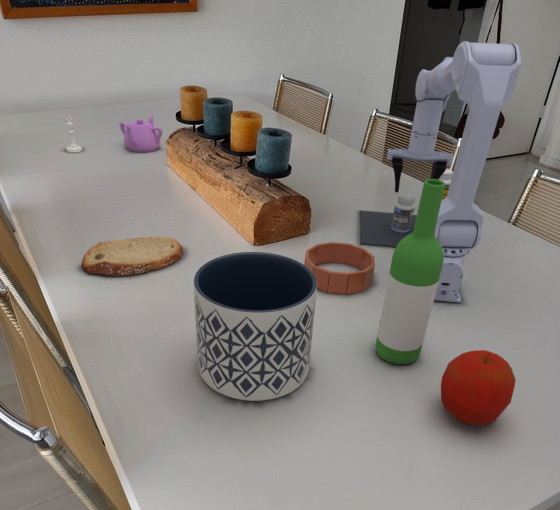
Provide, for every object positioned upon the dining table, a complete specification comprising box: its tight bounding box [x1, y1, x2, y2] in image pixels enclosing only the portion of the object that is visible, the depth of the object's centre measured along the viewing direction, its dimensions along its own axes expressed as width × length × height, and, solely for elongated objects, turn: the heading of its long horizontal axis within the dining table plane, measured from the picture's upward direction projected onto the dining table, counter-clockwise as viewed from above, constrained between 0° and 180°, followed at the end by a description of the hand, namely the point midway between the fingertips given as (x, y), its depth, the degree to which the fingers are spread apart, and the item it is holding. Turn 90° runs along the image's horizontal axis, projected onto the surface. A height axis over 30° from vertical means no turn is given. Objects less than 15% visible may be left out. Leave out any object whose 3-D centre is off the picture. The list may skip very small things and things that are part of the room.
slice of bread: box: [81, 236, 184, 277], centre depth 116 cm, size 18×18×4 cm
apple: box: [440, 349, 517, 426], centre depth 80 cm, size 10×10×12 cm
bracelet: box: [303, 241, 376, 295], centre depth 114 cm, size 14×14×4 cm
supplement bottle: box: [439, 168, 454, 200], centre depth 145 cm, size 6×6×10 cm
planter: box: [193, 251, 318, 402], centre depth 85 cm, size 18×18×16 cm
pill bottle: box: [391, 192, 416, 233], centre depth 133 cm, size 5×5×8 cm
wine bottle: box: [375, 178, 445, 366], centre depth 85 cm, size 8×8×30 cm
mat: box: [359, 210, 417, 248], centre depth 136 cm, size 20×20×1 cm
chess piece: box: [65, 115, 83, 153], centre depth 170 cm, size 5×5×10 cm
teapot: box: [118, 113, 163, 153], centre depth 176 cm, size 12×14×9 cm
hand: (412, 192), depth 129 cm, fingers open, 7 cm apart
